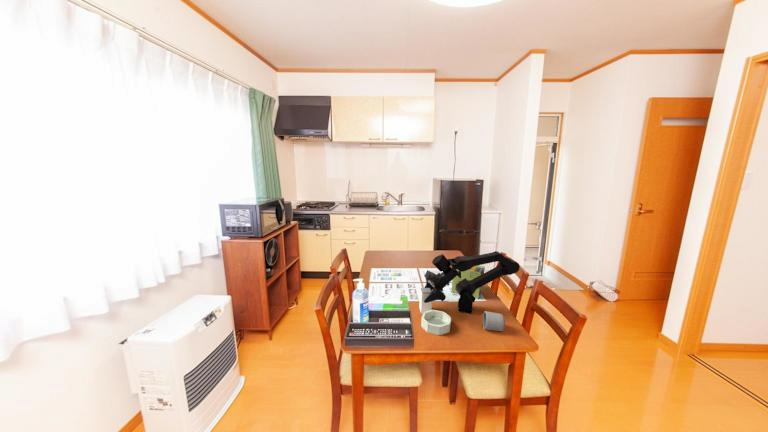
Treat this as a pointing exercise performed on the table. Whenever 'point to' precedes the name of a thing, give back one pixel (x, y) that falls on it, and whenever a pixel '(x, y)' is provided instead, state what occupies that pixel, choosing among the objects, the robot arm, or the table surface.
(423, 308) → the pebble canister
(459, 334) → the table surface
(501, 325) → the ceramic mug
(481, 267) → the protein box
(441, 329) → the sage bowl
